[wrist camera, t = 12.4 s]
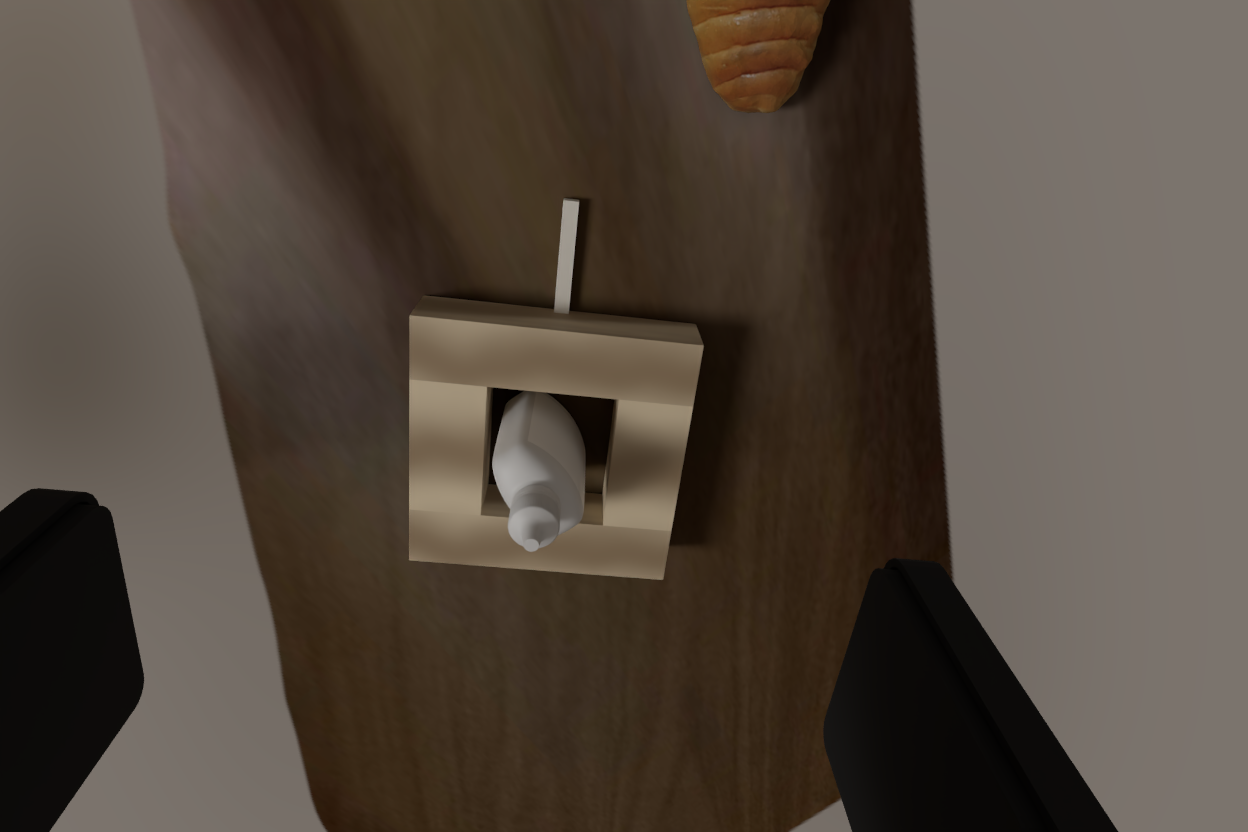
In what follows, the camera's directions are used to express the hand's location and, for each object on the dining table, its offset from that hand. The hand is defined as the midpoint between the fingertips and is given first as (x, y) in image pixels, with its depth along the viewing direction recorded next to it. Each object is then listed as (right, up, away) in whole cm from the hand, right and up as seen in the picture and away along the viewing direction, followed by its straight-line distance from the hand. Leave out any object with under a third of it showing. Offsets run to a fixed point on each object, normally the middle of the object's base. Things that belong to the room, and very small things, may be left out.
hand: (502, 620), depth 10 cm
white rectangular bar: (-1, +11, +31) cm, 33 cm away
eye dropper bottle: (-3, +2, +36) cm, 36 cm away
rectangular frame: (-3, +2, +36) cm, 36 cm away
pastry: (+8, +23, +27) cm, 36 cm away
